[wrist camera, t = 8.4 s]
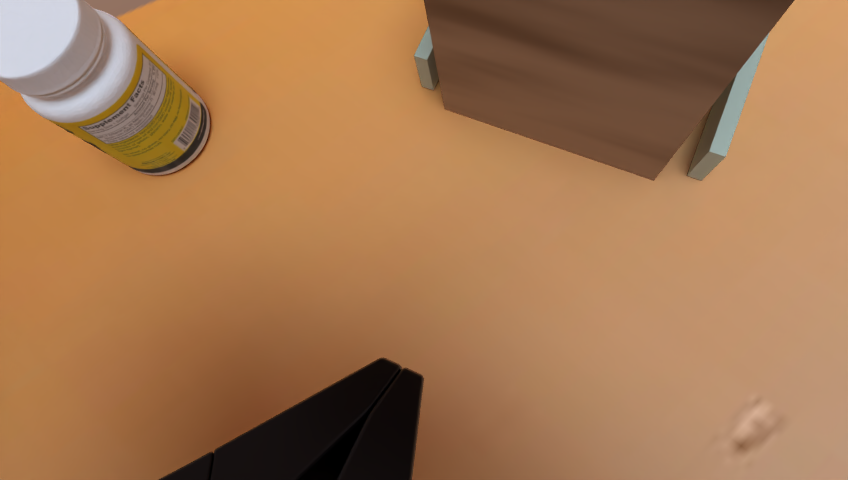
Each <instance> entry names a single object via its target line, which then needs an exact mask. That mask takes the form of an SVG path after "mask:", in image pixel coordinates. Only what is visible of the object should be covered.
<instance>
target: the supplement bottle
mask: <svg viewBox="0 0 848 480" xmlns="http://www.w3.org/2000/svg"><path fill="white" fill-rule="evenodd" d="M0 80H1V81H2V82H3V83H5V84H6V85H8V86H9V87H10V88H12V89H13V90H15V91H17V92H19V93H21V95H22V97H23V99H24V100H25V102H26V103H27V104H28V105H29V106H30V107H31V108H32V109H33V110H34V111H35V112H36V113H38V114H39V115H41V116H42V117H44V118H46V119H47V120H49V121H51V122H53V123H54V124H56V125H58V126H59V127H61V128H63V129H65V130H66V131H68V132H70V133H72V134H73V135H75V136H77V137H79V138H81V139H82V140H84V141H85V142H87V143H89V144H91V145H93V146H94V147H96V148H98V149H100V150H101V151H103V152H105V153H107V154H108V155H110V156H112V157H114V158H115V159H117V160H119V161H120V162H122V163H124V164H126V165H128V166H129V167H131V168H133V169H135V170H136V171H139V172H141V173H144V174H149V175H164V174H169V173H172V172H175V171H177V170H179V169H181V168H183V167H184V166H186V165H187V164H189V163H190V162H191V161H192V160H193V159H194V158H195V157H196V156H197V155H198V154H199V153H200V151H201V150H202V148H203V147H204V145H205V143H206V141H207V138H208V134H209V130H210V117H209V113H208V109H207V107H206V105H205V103H204V102H203V100H202V99H201V97H200V96H199V95H198V94H197V93H196V92H195V91H194V90H193V89H192V88H191V87H190V86H189V85H187V84H186V83H185V82H184V81H183V80H182V79H181V78H180V77H179V76H178V75H177V74H176V73H175V72H174V71H173V70H172V69H170V68H169V67H168V66H167V65H166V64H165V63H164V62H163V61H162V60H161V59H160V58H159V57H158V56H157V55H155V54H154V53H153V52H152V51H151V50H150V49H149V48H148V47H147V46H146V45H145V44H144V43H143V42H142V41H141V40H140V39H139V38H138V37H137V36H136V35H135V34H134V33H133V32H132V31H131V30H130V29H128V28H127V27H126V26H125V25H124V24H123V23H122V22H121V21H120V20H118V19H117V18H115V17H114V16H112V15H111V14H109V13H106V12H103V11H101V10H97V9H93V8H92V7H91V5H89V4H88V3H87V2H86V1H84V0H0Z"/></svg>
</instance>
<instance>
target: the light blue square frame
mask: <svg viewBox="0 0 848 480" xmlns="http://www.w3.org/2000/svg"><path fill="white" fill-rule="evenodd" d="M768 35H769V33H768ZM768 35H767V36H766V37H765V38H764V40H763V41H762V42H761V44H760V45H759V46H758V47H757V49H756V50H755V51H754V53H753V54H752V55H751V56H750V58H749V59H748V60H747V62H746V63H745V64H744V65H743V67H742V68H741V69H740V71H739V72H738V73H737V74H736V76H735V77H734V78H733V80H732V81H731V82H730V83H729V85H728V86H727V87H726V88H725V90H724V91H723V92H722V94H721V95H720V96H719V97H718V99H717V100H716V101H715V103H714V104H713V105H712V108H711V111H710V113H709V116H708V119H707V122H706V124H705V127H704V130H703V133H702V135H701V138H700V141H699V144H698V146H697V149H696V152H695V155H694V158H693V160H692V163H691V166H690V169H689V171H688V174H687V176H690V177H692V178H695V179H698V180H701V181H702V180H703V179H704V178H705V177H706V176H707V175H708V174H709V173H710V172H711V171H712V170H713V169H714V168H715V167H716V166H717V165H718V164H719V163H720V162H721V161H722V160H723V159H724V158H725V157H726V155H727V152H728V149H729V146H730V143H731V140H732V137H733V135H734V132H735V129H736V126H737V123H738V120H739V117H740V115H741V112H742V109H743V106H744V103H745V100H746V97H747V95H748V92H749V89H750V86H751V83H752V80H753V77H754V75H755V72H756V69H757V66H758V63H759V60H760V57H761V55H762V52H763V49H764V46H765V43H766V40H767V38H768ZM414 57H415V61H416V65H417V69H418V73H419V77H420V81H421V85H422V87H425V88H428V89H431V90H434V89H435V86H436V84H437V82H438V80H439V77H438V72H437V66H436V61H435V56H434V51H433V45H432V40H431V35H430V29H429V26H428V28H427V30H426V32H425V34H424V36H423V38H422V40H421V42H420V45H419V47H418V49H417V51H416V53H415V55H414Z"/></svg>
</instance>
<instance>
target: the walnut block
mask: <svg viewBox="0 0 848 480" xmlns="http://www.w3.org/2000/svg"><path fill="white" fill-rule="evenodd" d="M793 1H794V0H424V3H425V8H426V14H427V19H428V24H429V29H430V35H431V40H432V45H433V51H434V56H435V61H436V66H437V72H438V77H439V82H440V88H441V93H442V98H443V103H444V109H446V110H448V111H451V112H454V113H457V114H460V115H463V116H466V117H469V118H472V119H475V120H478V121H481V122H484V123H487V124H489V125H492V126H495V127H498V128H501V129H504V130H507V131H510V132H513V133H516V134H519V135H522V136H525V137H528V138H530V139H533V140H536V141H539V142H542V143H545V144H548V145H551V146H554V147H557V148H560V149H563V150H566V151H569V152H571V153H574V154H577V155H580V156H583V157H586V158H589V159H592V160H595V161H598V162H601V163H604V164H607V165H610V166H612V167H615V168H618V169H621V170H624V171H627V172H630V173H633V174H636V175H639V176H642V177H645V178H648V179H651V180H655V178H656V177H657V176H658V174H659V173H660V172H661V171H662V169H663V168H664V167H665V165H666V164H667V163H668V162H669V160H670V159H671V158H672V156H673V155H674V154H675V153H676V151H677V150H678V149H679V148H680V146H681V145H682V144H683V142H684V141H685V140H686V139H687V137H688V136H689V135H690V133H691V132H692V131H693V130H694V128H695V127H696V126H697V124H698V123H699V122H700V121H701V119H702V118H703V117H704V115H705V114H706V113H707V112H708V110H709V109H710V108H711V106H712V105H713V104H714V103H715V101H716V100H717V99H718V97H719V96H720V95H721V94H722V92H723V91H724V90H725V88H726V87H727V86H728V85H729V83H730V82H731V81H732V80H733V78H734V77H735V76H736V74H737V73H738V72H739V71H740V69H741V68H742V67H743V65H744V64H745V63H746V62H747V60H748V59H749V58H750V56H751V55H752V54H753V53H754V51H755V50H756V49H757V47H758V46H759V45H760V44H761V42H762V41H763V40H764V38H765V37H766V36H767V35H768V33H769V32H770V31H771V29H772V28H773V27H774V26H775V24H776V23H777V22H778V21H779V19H780V18H781V17H782V15H783V14H784V13H785V12H786V10H787V9H788V8H789V6H790V5H791V4H792V3H793Z"/></svg>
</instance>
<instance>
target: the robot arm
mask: <svg viewBox="0 0 848 480" xmlns="http://www.w3.org/2000/svg"><path fill="white" fill-rule="evenodd" d="M423 381H424V378H423V376H422V375H421V374H419V373H417V372H414V371H412V370H410V369H408V368H403V369H402V367H401V366H400V365H399V364H397V363H395V362H393V361H391V360H388V359H386V358H379V359H377V360H376V361H374V362H372V363H370V364H368V365H367V366H365V367H363V368H361V369H359V370H358V371H356V372H354V373H352V374H350V375H349V376H347V377H345V378H343V379H341V380H340V381H338V382H336V383H334V384H332V385H331V386H329V387H327V388H325V389H323V390H322V391H320V392H318V393H316V394H314V395H313V396H311V397H309V398H307V399H305V400H303V401H302V402H300V403H298V404H296V405H294V406H293V407H291V408H289V409H287V410H285V411H284V412H282V413H280V414H278V415H276V416H275V417H273V418H271V419H269V420H267V421H266V422H264V423H262V424H260V425H258V426H257V427H255V428H253V429H251V430H249V431H248V432H246V433H244V434H242V435H240V436H239V437H237V438H235V439H233V440H231V441H229V442H228V443H226V444H224V445H222V446H220V447H219V448H217V449H215V451H214V454H213V452H209V453H207V454H206V455H204V456H202V457H200V458H198V459H197V460H195V461H193V462H191V463H189V464H187V465H186V466H184V467H182V468H180V469H178V470H176V471H174V472H172V473H170V474H168V475H166V476H164V477H163V478H161V479H159V480H412V474H413V466H414V457H415V449H416V440H417V432H418V424H419V415H420V407H421V398H422V390H423Z"/></svg>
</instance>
